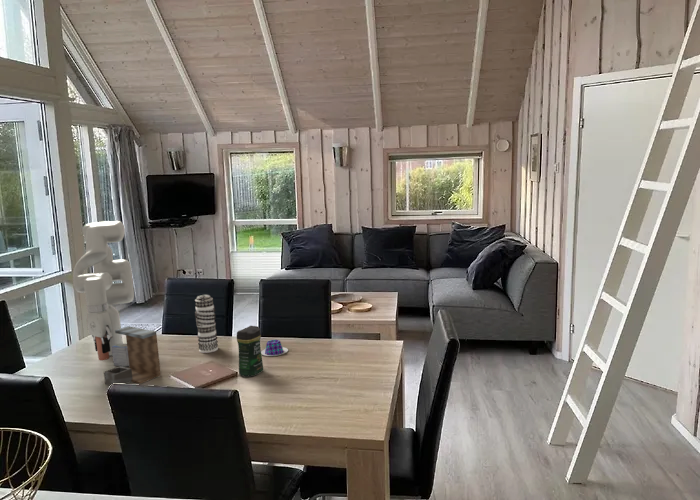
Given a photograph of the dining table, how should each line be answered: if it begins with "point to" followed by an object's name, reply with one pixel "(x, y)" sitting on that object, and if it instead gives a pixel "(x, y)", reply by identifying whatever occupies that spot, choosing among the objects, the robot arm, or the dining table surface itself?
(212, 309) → the decorative candle
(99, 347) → the peg
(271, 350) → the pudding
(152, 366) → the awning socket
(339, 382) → the dining table surface
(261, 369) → the coffee jar
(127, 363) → the medicine box
